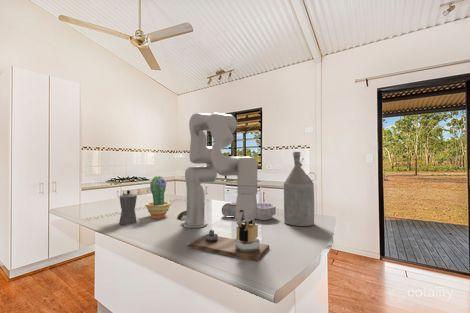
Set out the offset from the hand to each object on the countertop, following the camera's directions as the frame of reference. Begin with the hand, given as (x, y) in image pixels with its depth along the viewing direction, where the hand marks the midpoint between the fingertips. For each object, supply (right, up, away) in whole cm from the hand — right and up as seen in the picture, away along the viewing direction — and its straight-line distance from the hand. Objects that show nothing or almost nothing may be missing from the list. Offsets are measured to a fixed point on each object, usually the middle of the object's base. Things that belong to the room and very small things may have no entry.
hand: (247, 237), depth 86 cm
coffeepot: (-65, -7, +43) cm, 78 cm away
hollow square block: (0, 0, 0) cm, 0 cm away
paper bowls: (+12, -7, +53) cm, 55 cm away
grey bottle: (+31, -7, +41) cm, 52 cm away
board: (-7, -6, +5) cm, 10 cm away
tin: (-6, -7, +55) cm, 56 cm away
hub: (0, -4, 0) cm, 4 cm away
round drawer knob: (-14, -4, +9) cm, 18 cm away
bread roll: (-33, -7, +54) cm, 64 cm away
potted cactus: (-52, -7, +58) cm, 78 cm away
